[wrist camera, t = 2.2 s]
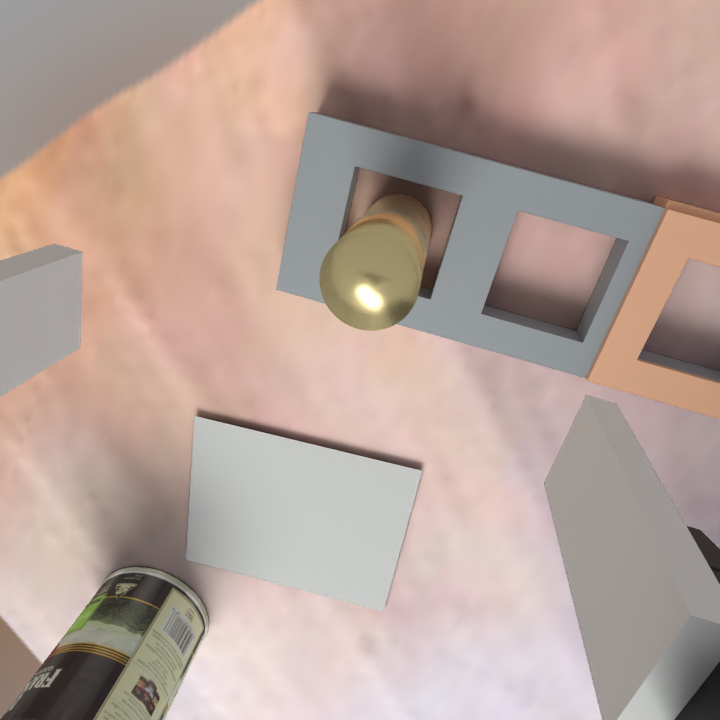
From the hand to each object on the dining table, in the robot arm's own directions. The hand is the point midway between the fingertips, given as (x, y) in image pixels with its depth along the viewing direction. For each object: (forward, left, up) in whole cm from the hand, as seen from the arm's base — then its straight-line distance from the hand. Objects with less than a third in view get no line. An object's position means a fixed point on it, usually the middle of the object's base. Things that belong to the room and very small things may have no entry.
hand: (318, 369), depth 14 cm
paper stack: (-2, +18, -21) cm, 28 cm away
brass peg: (0, 0, -20) cm, 20 cm away
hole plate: (-9, 0, -20) cm, 22 cm away
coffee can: (+12, +38, -21) cm, 45 cm away
